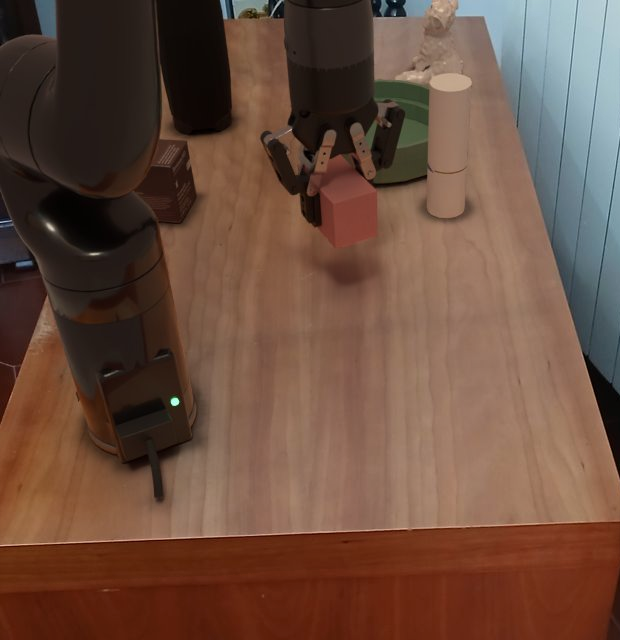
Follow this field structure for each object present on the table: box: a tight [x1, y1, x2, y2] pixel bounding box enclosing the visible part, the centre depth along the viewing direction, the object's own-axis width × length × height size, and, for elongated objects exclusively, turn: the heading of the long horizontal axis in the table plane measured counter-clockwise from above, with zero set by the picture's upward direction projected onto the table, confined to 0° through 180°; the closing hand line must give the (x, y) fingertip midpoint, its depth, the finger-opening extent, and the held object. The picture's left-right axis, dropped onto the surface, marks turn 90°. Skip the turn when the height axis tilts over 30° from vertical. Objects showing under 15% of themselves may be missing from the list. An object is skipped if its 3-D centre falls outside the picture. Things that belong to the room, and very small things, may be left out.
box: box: [134, 138, 197, 224], centre depth 104 cm, size 6×6×7 cm
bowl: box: [340, 78, 430, 185], centre depth 113 cm, size 18×18×5 cm
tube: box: [426, 73, 473, 219], centre depth 99 cm, size 4×4×15 cm
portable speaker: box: [156, 0, 233, 135], centre depth 116 cm, size 9×9×20 cm
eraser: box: [297, 155, 379, 250], centre depth 89 cm, size 8×4×5 cm, turn 26°
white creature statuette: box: [394, 0, 465, 87], centre depth 124 cm, size 10×9×12 cm
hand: (338, 215), depth 90 cm, fingers closed on eraser, 4 cm apart
